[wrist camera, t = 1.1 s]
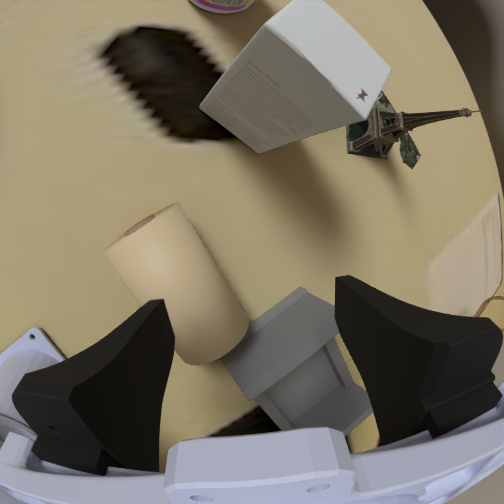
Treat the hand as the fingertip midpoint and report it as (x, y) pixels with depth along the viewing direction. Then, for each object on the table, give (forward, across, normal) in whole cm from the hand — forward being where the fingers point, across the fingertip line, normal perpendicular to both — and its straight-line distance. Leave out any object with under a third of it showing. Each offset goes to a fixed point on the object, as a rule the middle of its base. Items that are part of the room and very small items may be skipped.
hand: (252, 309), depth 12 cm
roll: (+9, +6, +2) cm, 11 cm away
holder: (+10, -3, +14) cm, 17 cm away
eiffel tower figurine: (+18, -13, -7) cm, 24 cm away
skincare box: (+13, -1, -9) cm, 16 cm away
